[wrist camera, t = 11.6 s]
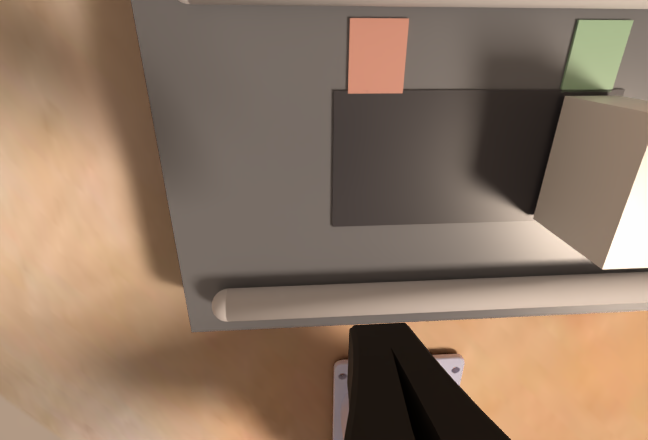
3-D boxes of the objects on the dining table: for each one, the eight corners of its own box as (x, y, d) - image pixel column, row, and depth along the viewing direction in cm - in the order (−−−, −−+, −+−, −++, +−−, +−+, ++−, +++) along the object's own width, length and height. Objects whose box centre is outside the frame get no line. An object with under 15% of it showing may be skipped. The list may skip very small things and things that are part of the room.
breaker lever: (578, 217, 16) (659, 267, 13) (533, 218, 16) (602, 269, 13) (615, 95, 14) (726, 113, 11) (564, 96, 14) (659, 114, 10)
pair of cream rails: (658, 289, 19) (685, 307, 17) (216, 308, 17) (210, 329, 16) (804, -35, 13) (859, -43, 12) (166, -47, 12) (150, -57, 10)
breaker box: (626, 276, 22) (674, 310, 19) (205, 293, 20) (191, 333, 18) (761, -59, 15) (865, -81, 13) (148, -73, 14) (110, -103, 11)
